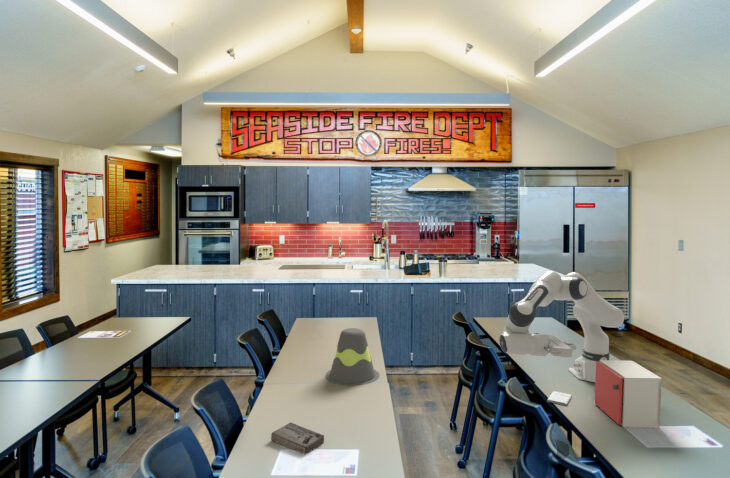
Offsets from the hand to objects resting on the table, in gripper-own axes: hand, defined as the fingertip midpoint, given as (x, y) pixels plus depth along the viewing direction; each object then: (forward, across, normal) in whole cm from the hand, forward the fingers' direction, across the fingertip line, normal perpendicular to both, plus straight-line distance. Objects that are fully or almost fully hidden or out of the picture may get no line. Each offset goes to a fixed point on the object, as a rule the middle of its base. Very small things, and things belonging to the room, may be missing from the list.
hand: (574, 346), depth 194 cm
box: (-110, -24, +34) cm, 117 cm away
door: (+16, +3, +29) cm, 33 cm away
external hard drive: (+3, +19, +30) cm, 36 cm away
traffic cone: (-93, +47, +33) cm, 109 cm away
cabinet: (+25, +3, +29) cm, 38 cm away
